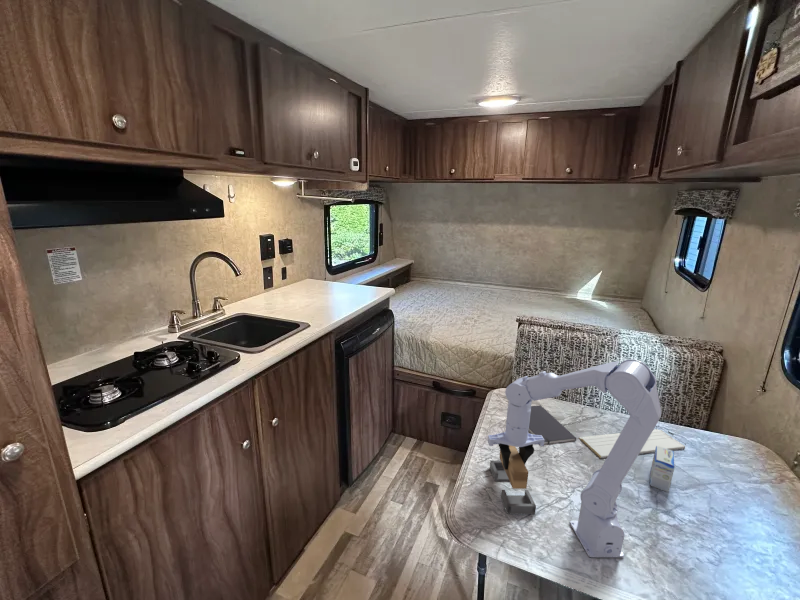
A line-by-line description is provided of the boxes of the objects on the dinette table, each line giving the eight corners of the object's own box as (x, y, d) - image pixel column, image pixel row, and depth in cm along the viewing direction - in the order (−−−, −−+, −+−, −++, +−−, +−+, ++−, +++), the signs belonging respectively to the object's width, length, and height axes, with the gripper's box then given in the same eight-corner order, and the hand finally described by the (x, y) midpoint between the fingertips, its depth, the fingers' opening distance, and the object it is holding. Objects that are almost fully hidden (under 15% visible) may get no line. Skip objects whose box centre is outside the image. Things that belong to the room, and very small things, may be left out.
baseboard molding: (575, 437, 124) (600, 460, 113) (577, 429, 123) (601, 452, 112) (653, 429, 129) (684, 450, 118) (655, 421, 129) (686, 442, 117)
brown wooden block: (526, 488, 93) (528, 472, 91) (512, 488, 92) (514, 472, 91) (511, 457, 104) (513, 442, 103) (499, 457, 104) (500, 442, 103)
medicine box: (650, 470, 108) (655, 444, 106) (668, 476, 105) (674, 450, 103) (649, 485, 102) (655, 459, 99) (669, 493, 99) (675, 466, 97)
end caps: (535, 514, 91) (536, 506, 91) (507, 514, 91) (508, 506, 91) (513, 467, 108) (514, 460, 107) (489, 467, 108) (490, 460, 107)
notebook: (575, 442, 121) (540, 408, 142) (576, 437, 121) (540, 405, 141) (541, 446, 119) (510, 411, 139) (542, 442, 118) (510, 407, 139)
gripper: (539, 414, 99) (533, 457, 102) (486, 414, 98) (482, 457, 102) (549, 429, 92) (543, 475, 95) (493, 429, 91) (489, 475, 95)
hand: (512, 467), depth 98 cm, fingers closed on brown wooden block, 3 cm apart
